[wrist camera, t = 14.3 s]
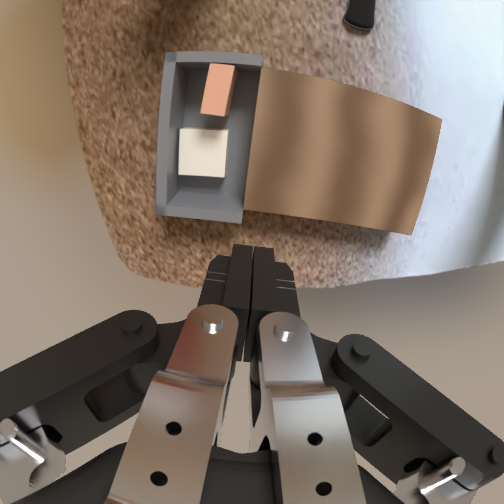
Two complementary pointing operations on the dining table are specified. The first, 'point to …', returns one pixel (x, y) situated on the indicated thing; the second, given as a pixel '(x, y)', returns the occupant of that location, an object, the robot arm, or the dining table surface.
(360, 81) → the dining table surface
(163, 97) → the box
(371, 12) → the kitchen cleaver
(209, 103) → the terracotta tile
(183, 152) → the cream block
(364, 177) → the walnut board
